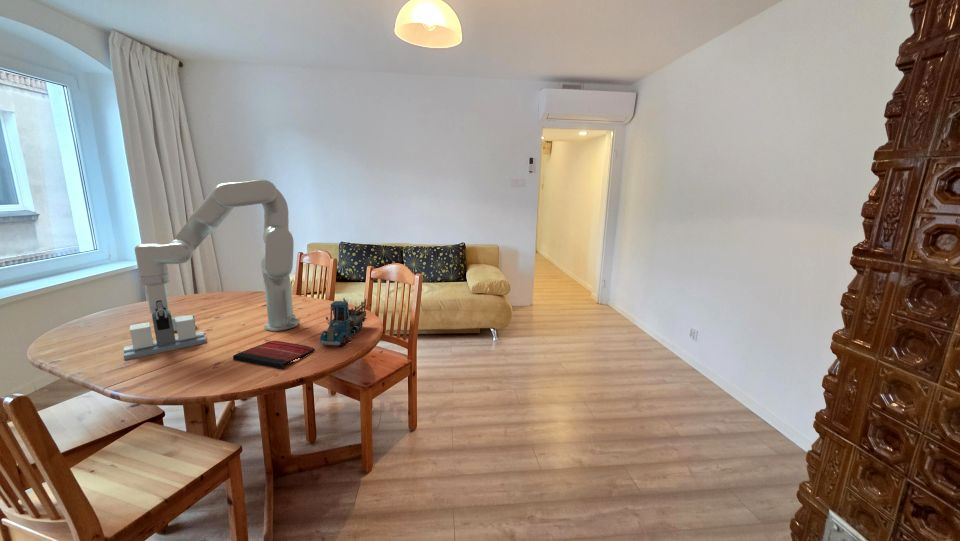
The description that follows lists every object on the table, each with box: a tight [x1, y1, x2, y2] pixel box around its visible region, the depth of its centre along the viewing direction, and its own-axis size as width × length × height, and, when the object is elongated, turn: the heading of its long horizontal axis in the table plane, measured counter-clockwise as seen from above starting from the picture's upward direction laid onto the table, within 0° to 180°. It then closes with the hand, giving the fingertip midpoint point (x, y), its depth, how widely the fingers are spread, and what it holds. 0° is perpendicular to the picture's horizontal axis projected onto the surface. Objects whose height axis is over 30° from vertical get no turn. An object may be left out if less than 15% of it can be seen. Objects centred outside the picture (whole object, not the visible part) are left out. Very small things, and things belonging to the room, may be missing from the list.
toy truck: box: [319, 297, 367, 347], centre depth 142 cm, size 11×25×15 cm, turn 176°
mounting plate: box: [123, 330, 207, 361], centre depth 132 cm, size 22×10×2 cm, turn 133°
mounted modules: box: [129, 314, 197, 349], centre depth 130 cm, size 17×6×7 cm, turn 133°
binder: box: [232, 340, 316, 370], centre depth 127 cm, size 16×2×21 cm
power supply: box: [172, 314, 197, 332], centre depth 148 cm, size 6×4×5 cm
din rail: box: [123, 331, 205, 354], centre depth 131 cm, size 22×4×1 cm, turn 133°
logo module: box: [151, 309, 176, 345], centre depth 130 cm, size 5×6×10 cm
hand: (163, 325), depth 130 cm, fingers open, 9 cm apart
